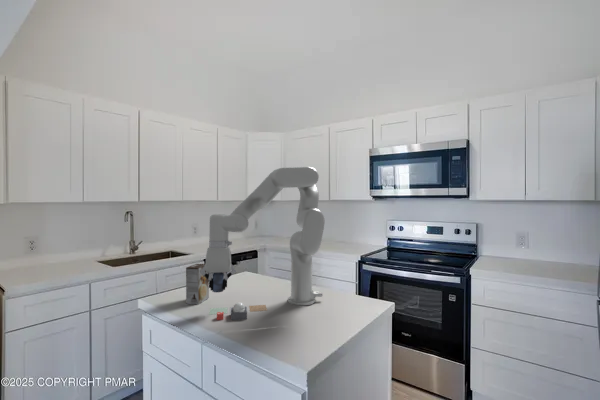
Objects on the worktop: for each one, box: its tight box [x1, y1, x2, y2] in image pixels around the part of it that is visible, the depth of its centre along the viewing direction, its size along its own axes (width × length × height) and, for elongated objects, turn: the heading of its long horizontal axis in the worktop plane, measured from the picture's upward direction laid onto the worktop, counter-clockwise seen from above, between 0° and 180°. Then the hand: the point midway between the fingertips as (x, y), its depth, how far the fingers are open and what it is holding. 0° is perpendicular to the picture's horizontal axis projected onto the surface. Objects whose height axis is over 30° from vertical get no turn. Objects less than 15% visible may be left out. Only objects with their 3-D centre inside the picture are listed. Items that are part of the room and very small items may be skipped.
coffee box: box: [185, 263, 210, 305], centre depth 138 cm, size 9×6×16 cm
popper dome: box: [232, 301, 245, 313], centre depth 118 cm, size 4×4×5 cm
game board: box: [208, 304, 268, 321], centre depth 122 cm, size 23×14×3 cm, turn 102°
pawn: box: [212, 273, 225, 293], centre depth 124 cm, size 4×4×9 cm
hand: (218, 288), depth 124 cm, fingers closed on pawn, 4 cm apart
